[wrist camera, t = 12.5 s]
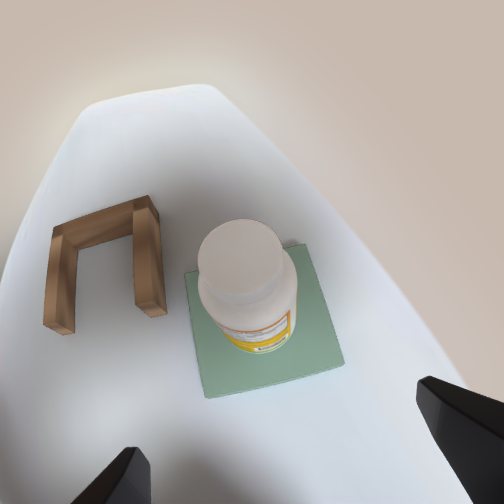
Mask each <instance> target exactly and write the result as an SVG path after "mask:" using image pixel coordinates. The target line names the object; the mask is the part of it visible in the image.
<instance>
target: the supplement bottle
mask: <svg viewBox="0 0 504 504" xmlns="http://www.w3.org/2000/svg"><path fill="white" fill-rule="evenodd" d="M198 268H199V272H200V273H199V278H198V291H199V296H200V299H201V302H202V304H203V306H204V307H205V309H206V311H207V312H208V313H209V315H210V316H211V317H212V319H213V320H214V321H215V323H216V324H217V325H218V327H219V328H220V329H221V331H222V332H223V333H224V335H225V336H226V337H227V339H228V340H229V341H230V342H231V343H232V344H233V345H235V346H236V347H237V348H239V349H241V350H243V351H245V352H248V353H255V354H260V353H267V352H271V351H273V350H276V349H277V348H279V347H281V346H282V345H283V344H284V343H285V342H286V341H287V340H288V339H289V338H290V336H291V334H292V333H293V330H294V328H295V324H296V313H297V288H298V284H297V273H296V269H295V266H294V263H293V261H292V259H291V258H290V256H289V255H288V253H287V252H286V251H285V250H284V249H283V248H282V245H281V242H280V240H279V238H278V236H277V235H276V233H275V232H274V231H273V230H272V229H271V228H269V227H268V226H267V225H265V224H263V223H261V222H259V221H255V220H250V219H237V220H232V221H228V222H226V223H223V224H221V225H219V226H218V227H216V228H215V229H213V230H212V231H211V232H210V233H209V234H208V235H207V236H206V238H205V239H204V240H203V242H202V244H201V246H200V249H199V252H198Z"/></svg>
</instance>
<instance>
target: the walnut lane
mask: <svg viewBox="0 0 504 504" xmlns="http://www.w3.org/2000/svg"><path fill="white" fill-rule="evenodd" d="M130 234H133V265H134V290H135V305H136V306H138V307H139V308H140V309H141V310H142V311H144V312H145V313H146V314H147V315H148V316H150V317H155V316H160V315H165V314H167V307H166V298H165V288H164V278H163V267H162V255H161V241H160V226H159V213H158V212H157V210H156V208H155V207H154V205H153V203H152V201H151V200H150V198H149V196H148V195H146V196H143V197H140V198H137V199H134V200H130V201H127V202H124V203H121V204H118V205H115V206H112V207H109V208H106V209H103V210H100V211H97V212H94V213H91V214H88V215H86V216H83V217H80V218H77V219H74V220H72V221H69V222H66V223H63V224H61V225H58V226H55V227H54V228H53V233H52V240H51V246H50V253H49V261H48V269H47V278H46V289H45V302H44V319H43V325H45V326H46V327H48V328H50V329H52V330H54V331H56V332H58V333H60V334H62V335H67V334H72V333H75V289H76V271H77V257H78V250H81V249H84V248H88V247H91V246H94V245H97V244H100V243H104V242H107V241H110V240H114V239H117V238H120V237H124V236H127V235H130Z"/></svg>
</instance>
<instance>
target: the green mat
mask: <svg viewBox="0 0 504 504" xmlns="http://www.w3.org/2000/svg"><path fill="white" fill-rule="evenodd" d="M284 250H285V251H286V252H287V253H288V255H289V256H290V258H291V259H292V261H293V263H294V266H295V269H296V273H297V284H298V288H297V313H296V324H295V328H294V330H293V333H292V334H291V336H290V338H289V339H288V340H287V341H286V342H285V343H284V344H283V345H282V346H281V347H279V348H277V349H276V350H273V351H271V352H267V353H260V354H255V353H248V352H245V351H243V350H241V349H239V348H237V347H236V346H235V345H233V344H232V343H231V342H230V341H229V340H228V339H227V337H226V336H225V335H224V333H223V332H222V331H221V329H220V328H219V327H218V325H217V324H216V323H215V321H214V320H213V319H212V317H211V316H210V315H209V313H208V312H207V311H206V309H205V307H204V306H203V304H202V302H201V299H200V296H199V291H198V278H199V273H200V272H199V270H198V271H194V272H190V273H186V274H185V280H186V287H187V295H188V302H189V309H190V315H191V322H192V328H193V334H194V341H195V347H196V352H197V358H198V364H199V370H200V375H201V380H202V386H203V391H204V396H205V398H208V399H210V398H215V397H221V396H226V395H231V394H236V393H241V392H245V391H250V390H254V389H259V388H263V387H267V386H272V385H276V384H280V383H284V382H288V381H291V380H295V379H299V378H303V377H306V376H310V375H313V374H317V373H320V372H324V371H327V370H330V369H334V368H337V367H340V366H343V365H344V363H345V362H344V358H343V355H342V352H341V349H340V345H339V342H338V339H337V336H336V333H335V330H334V327H333V323H332V320H331V317H330V314H329V311H328V308H327V305H326V302H325V299H324V296H323V293H322V290H321V287H320V284H319V281H318V278H317V275H316V273H315V270H314V267H313V264H312V261H311V258H310V255H309V253H308V250H307V247H306V244H301V245H297V246H293V247H289V248H285V249H284Z"/></svg>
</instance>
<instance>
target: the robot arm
mask: <svg viewBox="0 0 504 504" xmlns="http://www.w3.org/2000/svg"><path fill="white" fill-rule="evenodd" d="M416 402H417V405H418V407H419V409H420V411H421V413H422V415H423V417H424V419H425V421H426V423H427V426H428V428H429V430H430V432H431V434H432V436H433V438H434V440H435V442H436V443H437V445H438V446H439V448H440V450H441V451H442V453H443V454H444V456H445V458H446V459H447V461H448V462H449V464H450V466H451V467H452V469H453V470H454V472H455V474H456V475H457V477H458V479H459V480H460V482H461V484H462V485H463V487H464V488H465V490H466V492H467V494H468V495H469V497H470V499H471V500H472V502H473V504H504V403H503V402H500V401H498V400H494V399H492V398H489V397H486V396H483V395H480V394H478V393H475V392H472V391H470V390H467V389H464V388H461V387H459V386H456V385H453V384H451V383H448V382H445V381H443V380H440V379H438V378H435V377H432V376H427V377H424V378H422V379H420V380H419V381H418V383H417V393H416ZM71 504H151V482H150V464H149V461H148V460H147V459H146V457H145V456H144V454H143V453H142V452H141V450H140V449H139V448H138V447H126V448H125V449H123V451H122V452H121V453H120V454H119V455H118V456H117V457H116V458H115V459H114V460H113V461H112V462H111V463H110V464H109V465H108V466H107V467H106V468H105V469H104V470H103V471H102V472H101V473H100V474H99V475H98V476H97V477H96V478H95V479H94V481H93V482H92V483H91V484H90V485H89V486H88V487H87V488H86V489H85V490H84V491H83V492H82V493H81V494H80V495H79V496H78V497H77V498H76V499H75V500H74V501H73V502H72V503H71Z"/></svg>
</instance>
